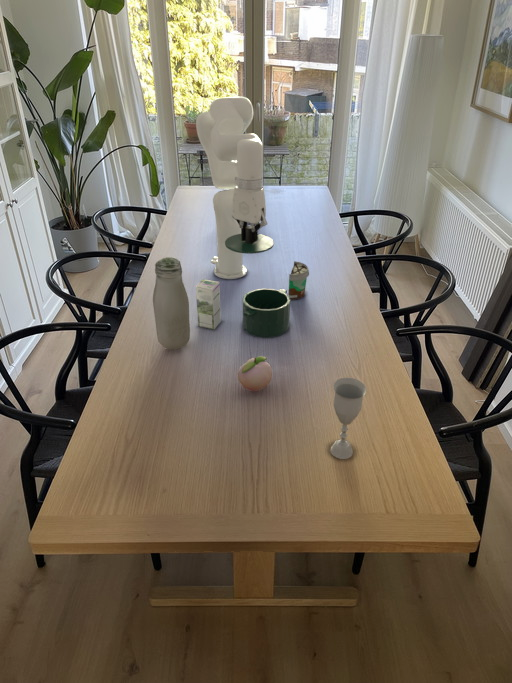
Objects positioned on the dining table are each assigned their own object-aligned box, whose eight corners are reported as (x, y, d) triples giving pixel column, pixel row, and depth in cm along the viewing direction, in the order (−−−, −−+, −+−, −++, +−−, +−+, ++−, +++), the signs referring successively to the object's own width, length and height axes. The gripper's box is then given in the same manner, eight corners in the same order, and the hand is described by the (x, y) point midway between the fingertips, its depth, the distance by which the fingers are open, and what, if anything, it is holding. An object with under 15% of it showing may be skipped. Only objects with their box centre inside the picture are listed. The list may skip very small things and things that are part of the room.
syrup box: (221, 321, 167) (220, 280, 159) (214, 330, 162) (212, 288, 154) (205, 318, 168) (203, 278, 160) (197, 327, 164) (195, 285, 156)
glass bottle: (164, 358, 148) (155, 269, 133) (153, 342, 156) (143, 255, 141) (196, 350, 152) (191, 262, 137) (184, 334, 160) (177, 249, 145)
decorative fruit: (259, 404, 131) (260, 372, 126) (233, 393, 135) (232, 362, 129) (278, 385, 138) (279, 354, 132) (252, 375, 141) (252, 345, 136)
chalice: (323, 440, 120) (330, 378, 110) (352, 439, 121) (361, 376, 111) (330, 463, 114) (337, 399, 104) (360, 461, 114) (370, 398, 105)
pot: (228, 331, 161) (227, 304, 156) (265, 307, 175) (265, 281, 170) (266, 346, 154) (267, 319, 149) (301, 319, 168) (303, 293, 163)
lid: (215, 247, 165) (214, 228, 161) (244, 233, 175) (244, 215, 172) (254, 259, 157) (255, 240, 154) (283, 243, 168) (283, 225, 164)
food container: (305, 303, 178) (307, 276, 172) (287, 301, 179) (289, 274, 173) (309, 287, 188) (311, 262, 183) (292, 286, 189) (294, 260, 184)
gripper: (220, 181, 157) (222, 238, 167) (264, 191, 149) (263, 250, 159) (235, 176, 162) (236, 231, 172) (278, 185, 154) (276, 243, 164)
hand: (249, 240), depth 165 cm, fingers closed on lid, 2 cm apart
